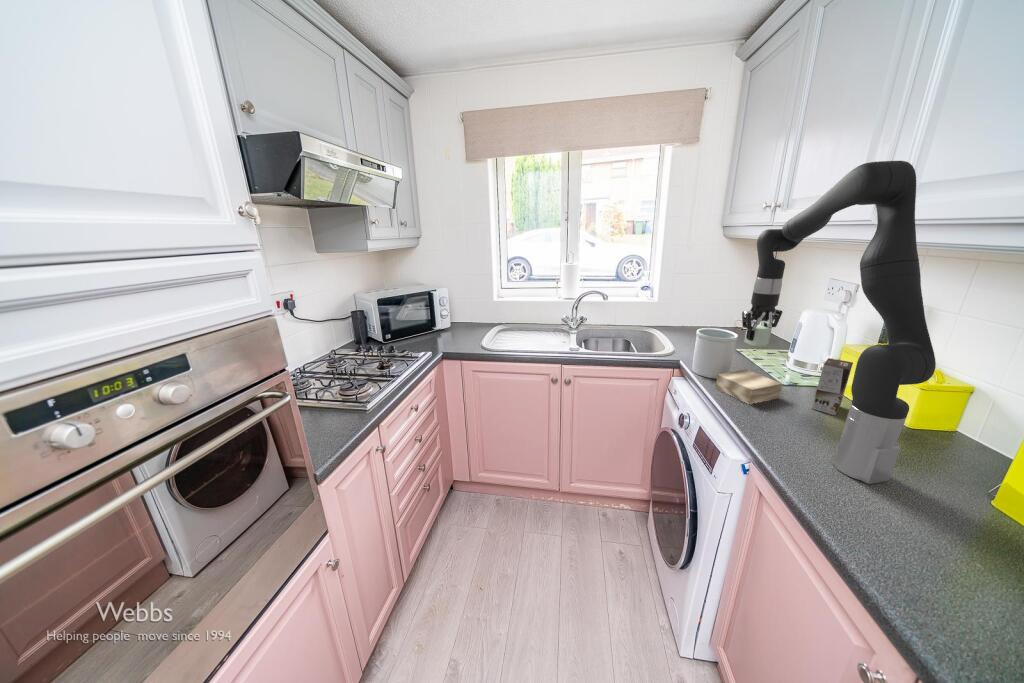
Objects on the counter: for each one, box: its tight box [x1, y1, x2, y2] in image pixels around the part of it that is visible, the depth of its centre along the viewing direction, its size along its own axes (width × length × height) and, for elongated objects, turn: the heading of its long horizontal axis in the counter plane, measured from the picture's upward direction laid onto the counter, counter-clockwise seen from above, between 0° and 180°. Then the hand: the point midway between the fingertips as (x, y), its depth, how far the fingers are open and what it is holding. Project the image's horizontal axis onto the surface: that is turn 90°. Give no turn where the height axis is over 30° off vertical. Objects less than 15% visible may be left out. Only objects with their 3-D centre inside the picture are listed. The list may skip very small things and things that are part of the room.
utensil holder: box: [691, 327, 739, 379], centre depth 145 cm, size 15×15×18 cm
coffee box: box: [811, 357, 854, 416], centre depth 115 cm, size 9×6×16 cm
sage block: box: [743, 324, 773, 347], centre depth 122 cm, size 5×5×6 cm
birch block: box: [714, 369, 783, 405], centre depth 128 cm, size 14×14×6 cm
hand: (756, 339), depth 123 cm, fingers closed on sage block, 5 cm apart
